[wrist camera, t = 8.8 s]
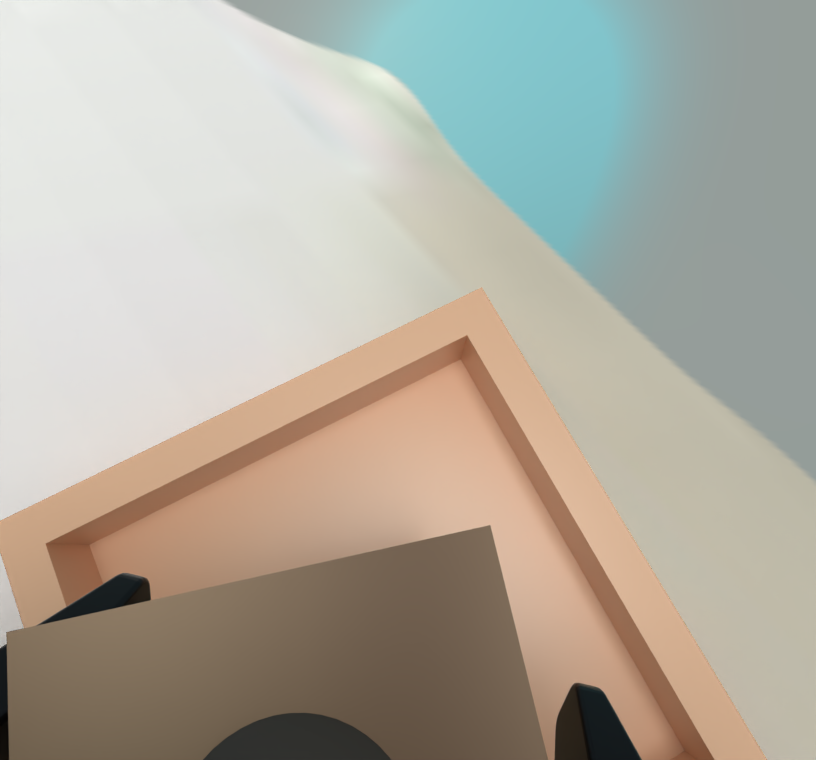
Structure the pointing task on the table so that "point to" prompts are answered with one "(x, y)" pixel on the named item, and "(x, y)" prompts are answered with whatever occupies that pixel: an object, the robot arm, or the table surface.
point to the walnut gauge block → (289, 667)
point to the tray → (401, 518)
